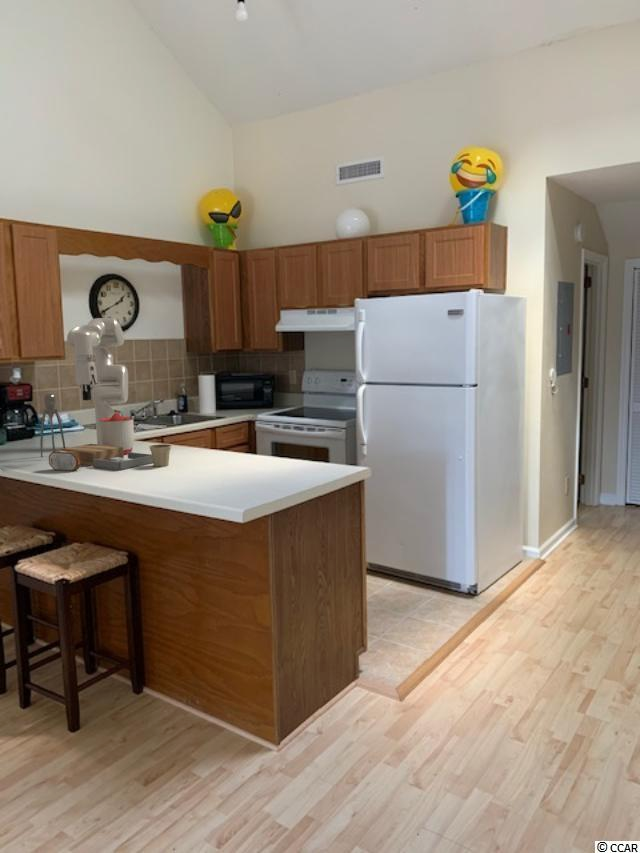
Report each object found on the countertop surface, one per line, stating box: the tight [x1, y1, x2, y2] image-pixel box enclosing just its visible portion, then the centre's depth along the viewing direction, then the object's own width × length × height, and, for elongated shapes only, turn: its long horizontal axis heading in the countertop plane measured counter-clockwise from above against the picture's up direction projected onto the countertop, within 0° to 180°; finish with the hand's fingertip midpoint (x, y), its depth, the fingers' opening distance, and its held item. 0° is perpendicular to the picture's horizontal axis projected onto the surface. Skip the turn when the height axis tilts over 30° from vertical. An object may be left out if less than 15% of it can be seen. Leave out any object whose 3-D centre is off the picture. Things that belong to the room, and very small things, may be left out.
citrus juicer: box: [100, 411, 138, 455], centre depth 320 cm, size 16×17×20 cm
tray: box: [92, 452, 153, 471], centre depth 290 cm, size 20×17×4 cm
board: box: [61, 443, 125, 467], centre depth 302 cm, size 16×22×6 cm
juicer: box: [39, 393, 66, 458], centre depth 313 cm, size 10×11×30 cm
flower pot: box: [148, 443, 172, 468], centre depth 286 cm, size 9×9×9 cm
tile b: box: [110, 457, 125, 462], centre depth 293 cm, size 4×4×2 cm
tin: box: [48, 449, 82, 472], centre depth 281 cm, size 15×3×8 cm, turn 71°
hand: (87, 399), depth 303 cm, fingers closed
